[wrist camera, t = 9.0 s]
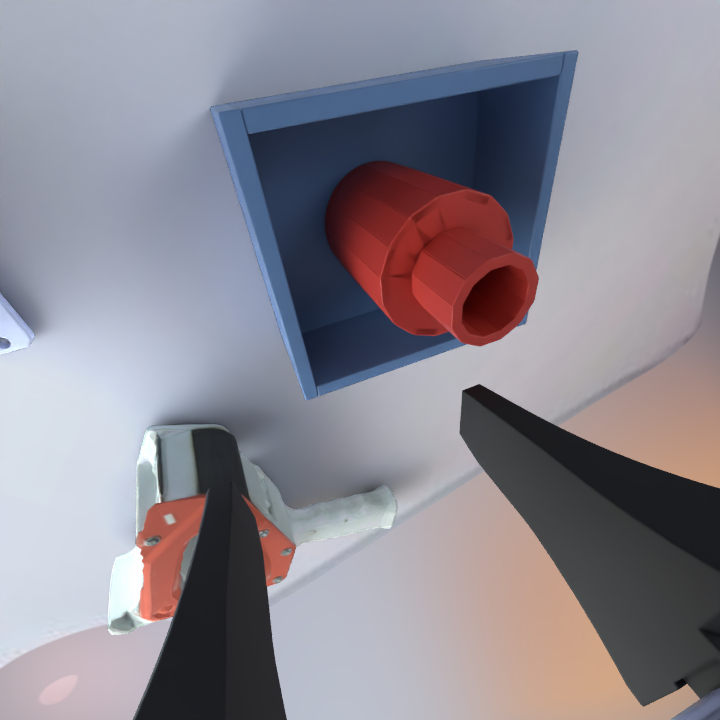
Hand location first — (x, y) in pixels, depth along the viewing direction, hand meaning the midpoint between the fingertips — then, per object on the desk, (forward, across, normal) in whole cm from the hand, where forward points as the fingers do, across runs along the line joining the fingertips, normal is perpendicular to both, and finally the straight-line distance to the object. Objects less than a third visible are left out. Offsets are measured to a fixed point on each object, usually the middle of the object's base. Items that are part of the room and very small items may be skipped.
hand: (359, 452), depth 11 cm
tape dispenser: (+11, +6, +14) cm, 19 cm away
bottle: (+10, -5, -3) cm, 11 cm away
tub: (+10, -5, -3) cm, 12 cm away
